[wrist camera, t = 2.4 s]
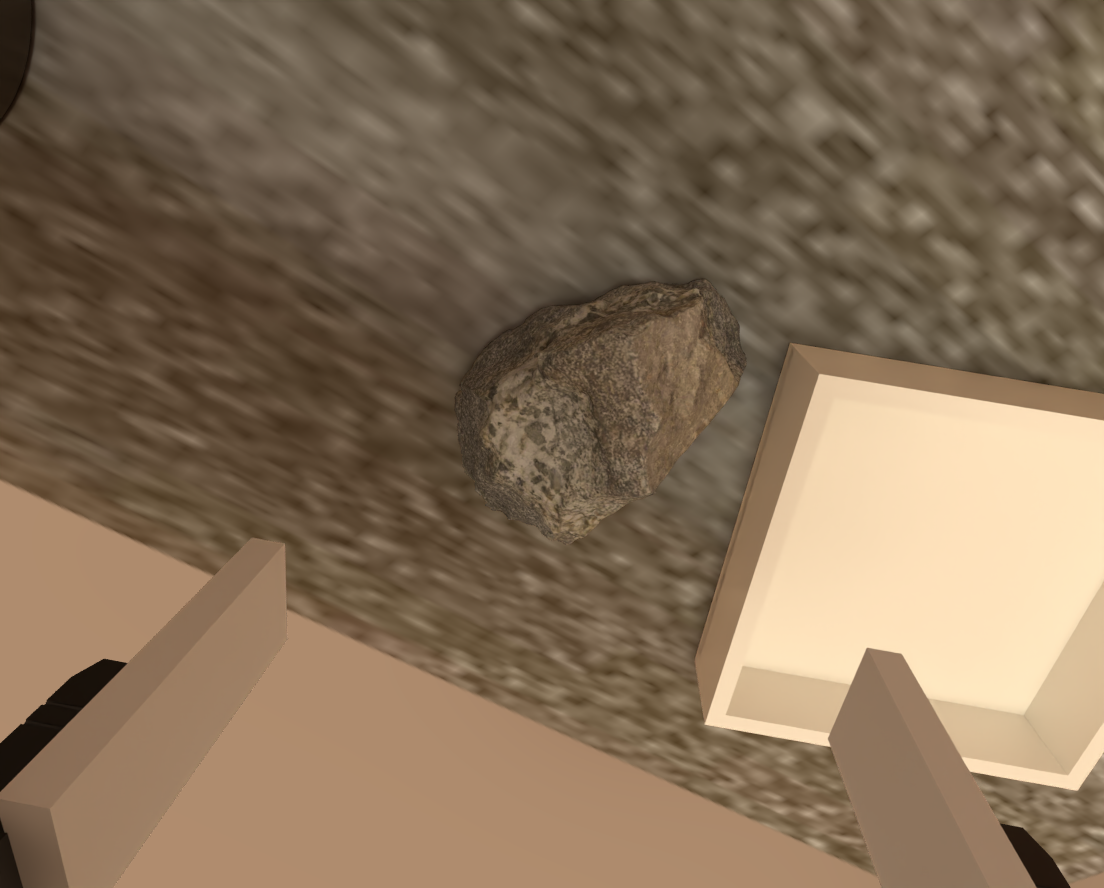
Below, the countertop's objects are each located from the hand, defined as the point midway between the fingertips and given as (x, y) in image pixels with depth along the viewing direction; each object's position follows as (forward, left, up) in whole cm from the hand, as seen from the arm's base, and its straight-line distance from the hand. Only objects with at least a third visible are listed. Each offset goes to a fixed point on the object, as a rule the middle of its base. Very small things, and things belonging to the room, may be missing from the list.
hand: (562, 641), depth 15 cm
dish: (+17, -5, -16) cm, 24 cm away
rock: (0, +1, -17) cm, 17 cm away
